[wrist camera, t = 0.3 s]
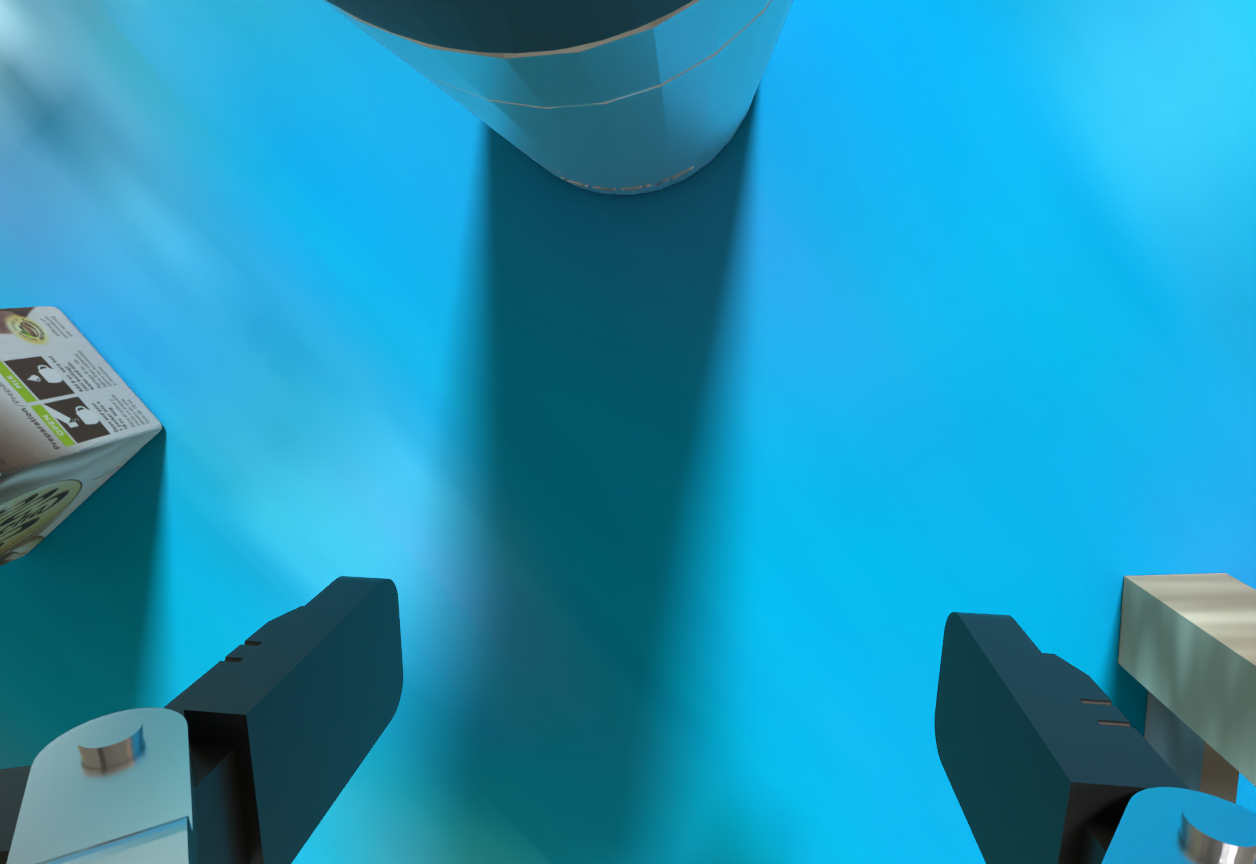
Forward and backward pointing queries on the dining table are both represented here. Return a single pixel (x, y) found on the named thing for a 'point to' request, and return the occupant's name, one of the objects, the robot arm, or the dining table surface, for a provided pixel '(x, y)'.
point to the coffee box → (57, 424)
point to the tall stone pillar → (1195, 674)
